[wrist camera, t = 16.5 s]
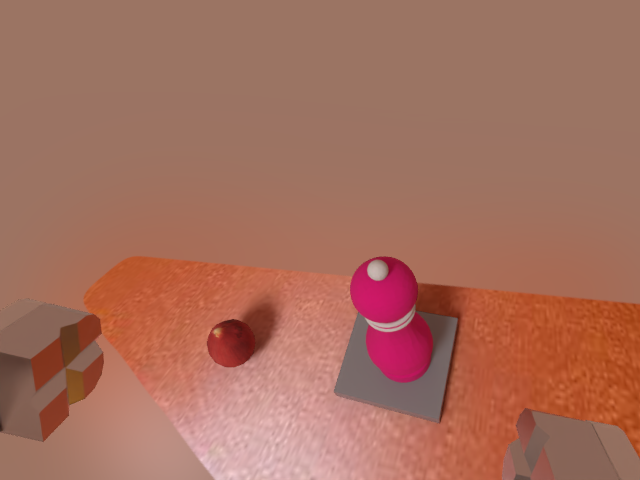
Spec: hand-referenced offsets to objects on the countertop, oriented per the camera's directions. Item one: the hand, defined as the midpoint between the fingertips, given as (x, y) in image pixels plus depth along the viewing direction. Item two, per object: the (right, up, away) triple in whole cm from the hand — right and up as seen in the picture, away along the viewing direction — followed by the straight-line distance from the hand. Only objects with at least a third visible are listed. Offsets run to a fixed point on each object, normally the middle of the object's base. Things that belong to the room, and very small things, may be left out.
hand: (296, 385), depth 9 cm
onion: (-10, -13, +52) cm, 55 cm away
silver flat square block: (+10, -12, +46) cm, 49 cm away
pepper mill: (+10, -11, +45) cm, 47 cm away
